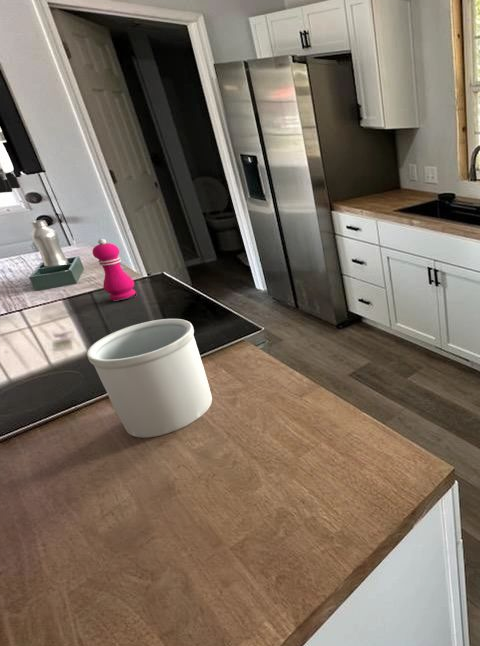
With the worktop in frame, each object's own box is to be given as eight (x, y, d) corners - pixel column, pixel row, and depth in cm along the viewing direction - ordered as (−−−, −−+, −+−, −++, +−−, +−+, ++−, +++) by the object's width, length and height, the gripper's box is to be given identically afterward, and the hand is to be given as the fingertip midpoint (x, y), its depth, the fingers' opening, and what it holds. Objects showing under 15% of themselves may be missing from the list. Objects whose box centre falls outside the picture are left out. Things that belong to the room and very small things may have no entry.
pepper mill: (108, 298, 134) (84, 239, 126) (137, 291, 138) (116, 234, 131) (109, 304, 129) (84, 244, 122) (139, 297, 134) (117, 238, 126)
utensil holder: (226, 411, 82) (201, 335, 76) (129, 454, 72) (90, 370, 66) (205, 381, 92) (181, 311, 85) (117, 416, 81) (82, 339, 75)
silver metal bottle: (43, 276, 150) (18, 223, 143) (65, 269, 156) (43, 218, 149) (55, 277, 148) (31, 224, 141) (78, 271, 155) (56, 219, 147)
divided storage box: (35, 291, 140) (28, 277, 138) (46, 274, 154) (41, 262, 152) (76, 283, 145) (71, 270, 144) (84, 268, 160) (79, 256, 158)
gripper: (-22, 137, 139) (0, 188, 145) (-41, 139, 126) (-16, 195, 132) (11, 136, 143) (31, 185, 149) (-4, 138, 131) (19, 192, 137)
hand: (9, 190), depth 141 cm, fingers open, 9 cm apart
